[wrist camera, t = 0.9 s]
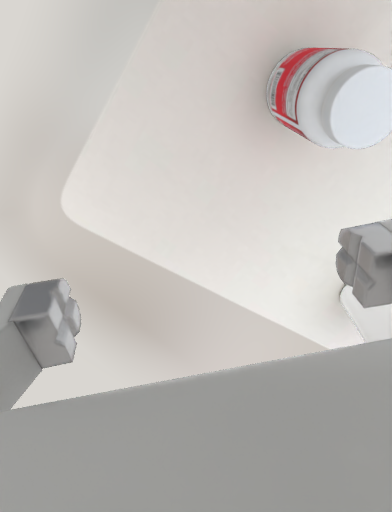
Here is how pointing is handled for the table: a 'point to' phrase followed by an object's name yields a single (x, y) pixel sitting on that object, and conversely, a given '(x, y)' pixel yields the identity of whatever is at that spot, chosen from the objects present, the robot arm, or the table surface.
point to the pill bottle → (333, 96)
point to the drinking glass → (368, 317)
